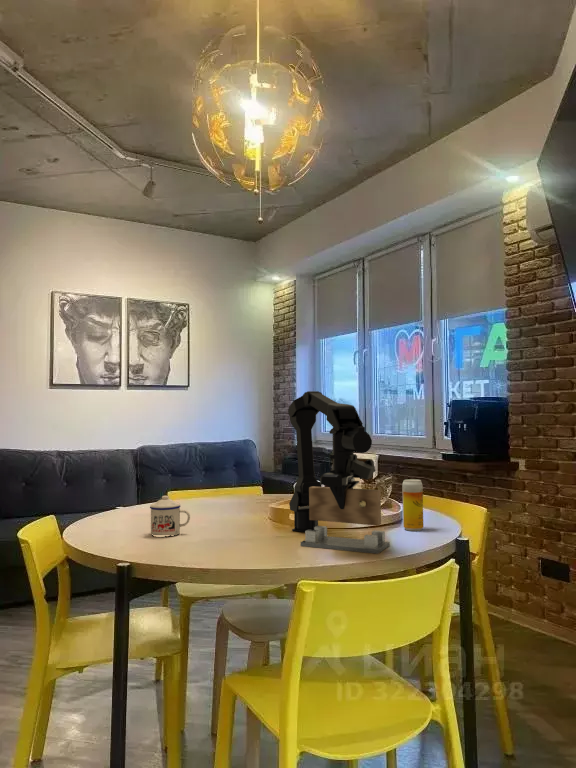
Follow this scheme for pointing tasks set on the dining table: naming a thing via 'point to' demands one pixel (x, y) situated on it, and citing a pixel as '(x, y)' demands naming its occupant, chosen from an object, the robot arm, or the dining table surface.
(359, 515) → the walnut door
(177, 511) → the teacup with lid
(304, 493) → the robot arm
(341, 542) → the rail
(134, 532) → the dining table surface
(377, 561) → the dining table surface
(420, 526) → the beer can
